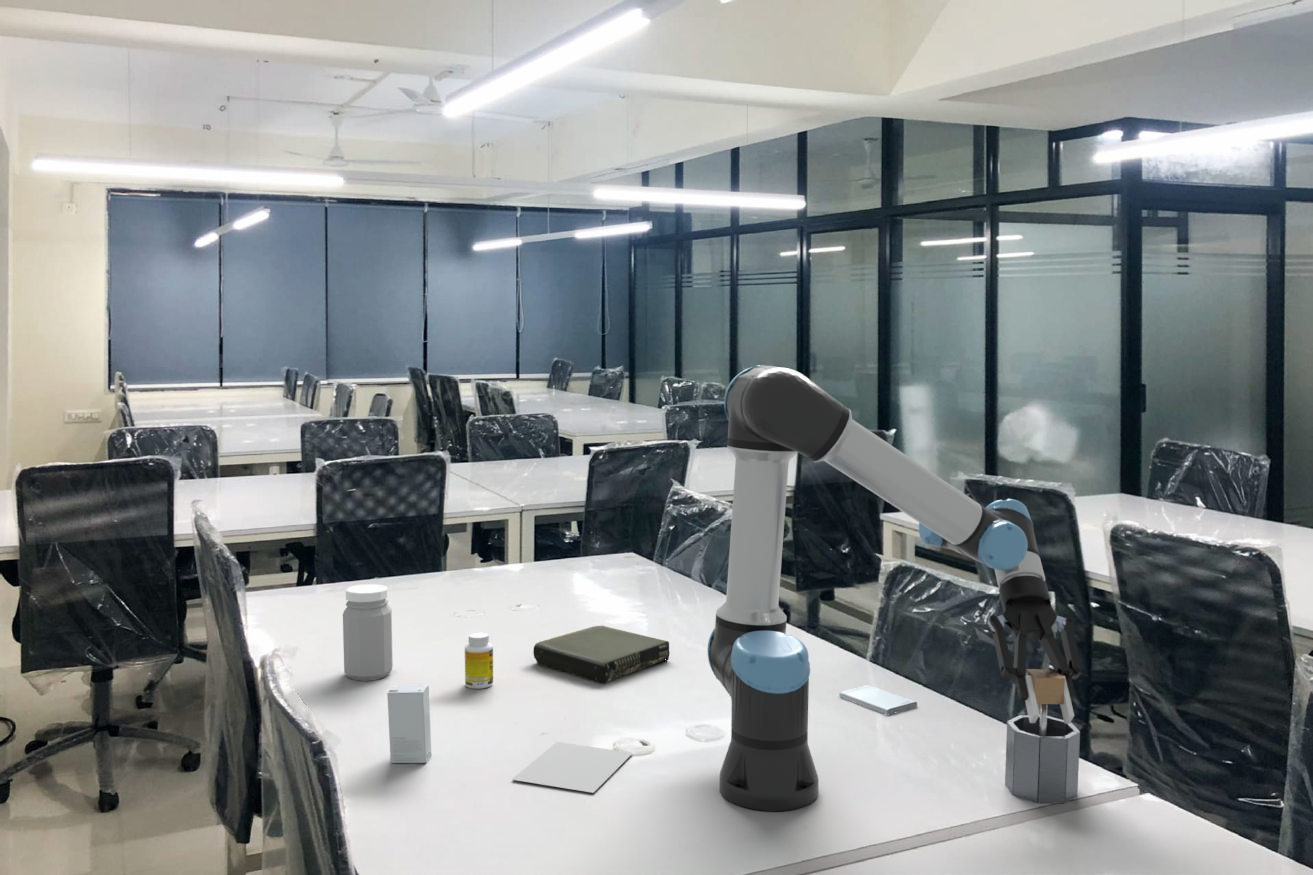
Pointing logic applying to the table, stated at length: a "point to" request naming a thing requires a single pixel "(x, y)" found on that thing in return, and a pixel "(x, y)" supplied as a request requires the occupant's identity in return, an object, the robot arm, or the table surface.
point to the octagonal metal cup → (1042, 760)
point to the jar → (367, 632)
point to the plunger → (1046, 691)
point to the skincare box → (409, 723)
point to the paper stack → (573, 766)
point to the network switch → (600, 653)
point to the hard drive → (878, 699)
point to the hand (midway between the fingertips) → (1052, 718)
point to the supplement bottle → (478, 661)
